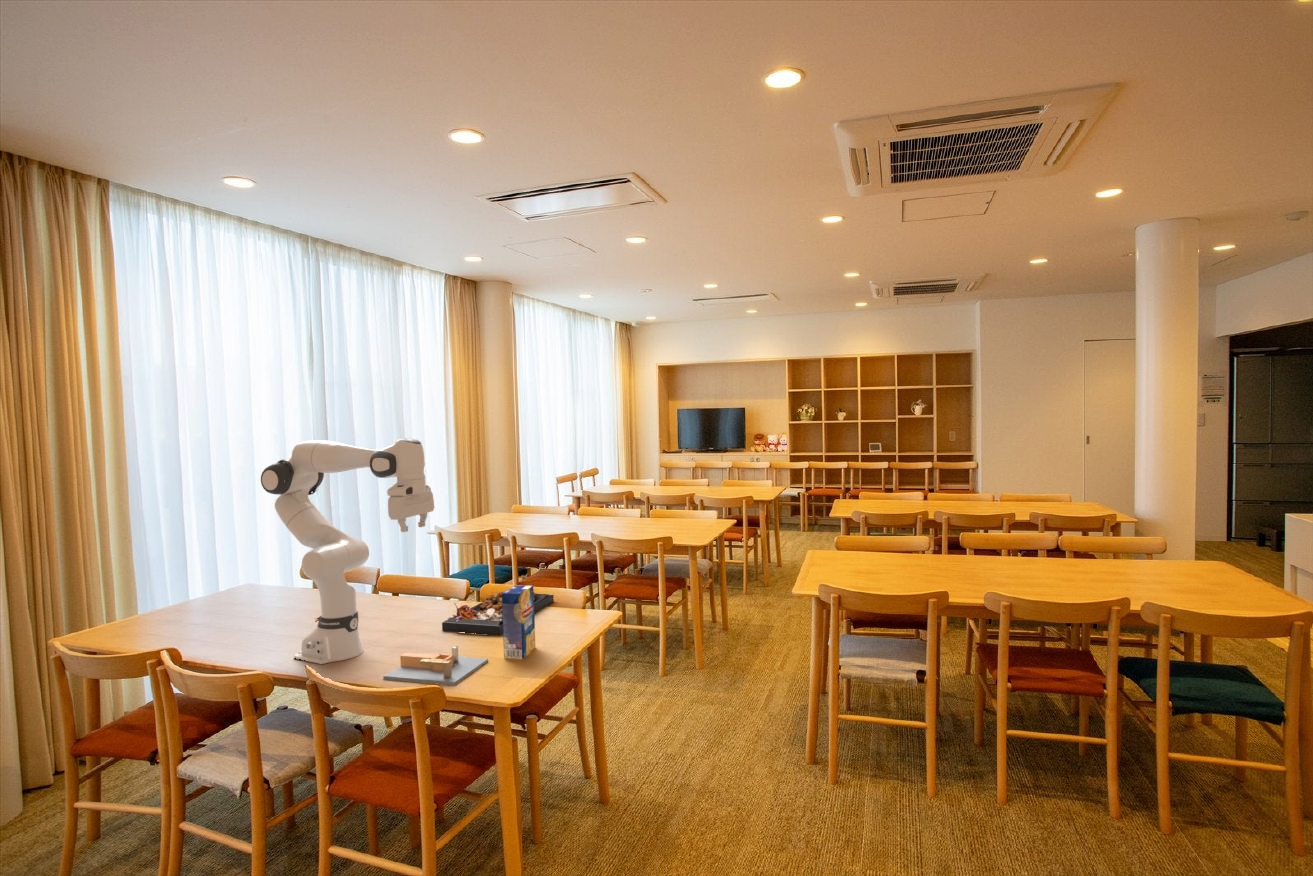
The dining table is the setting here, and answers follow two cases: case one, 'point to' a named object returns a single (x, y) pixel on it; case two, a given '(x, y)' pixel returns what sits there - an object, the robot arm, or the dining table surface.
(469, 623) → the food platter
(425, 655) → the link
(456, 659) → the peg
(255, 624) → the dining table surface
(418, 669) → the board
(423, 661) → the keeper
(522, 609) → the beverage box
